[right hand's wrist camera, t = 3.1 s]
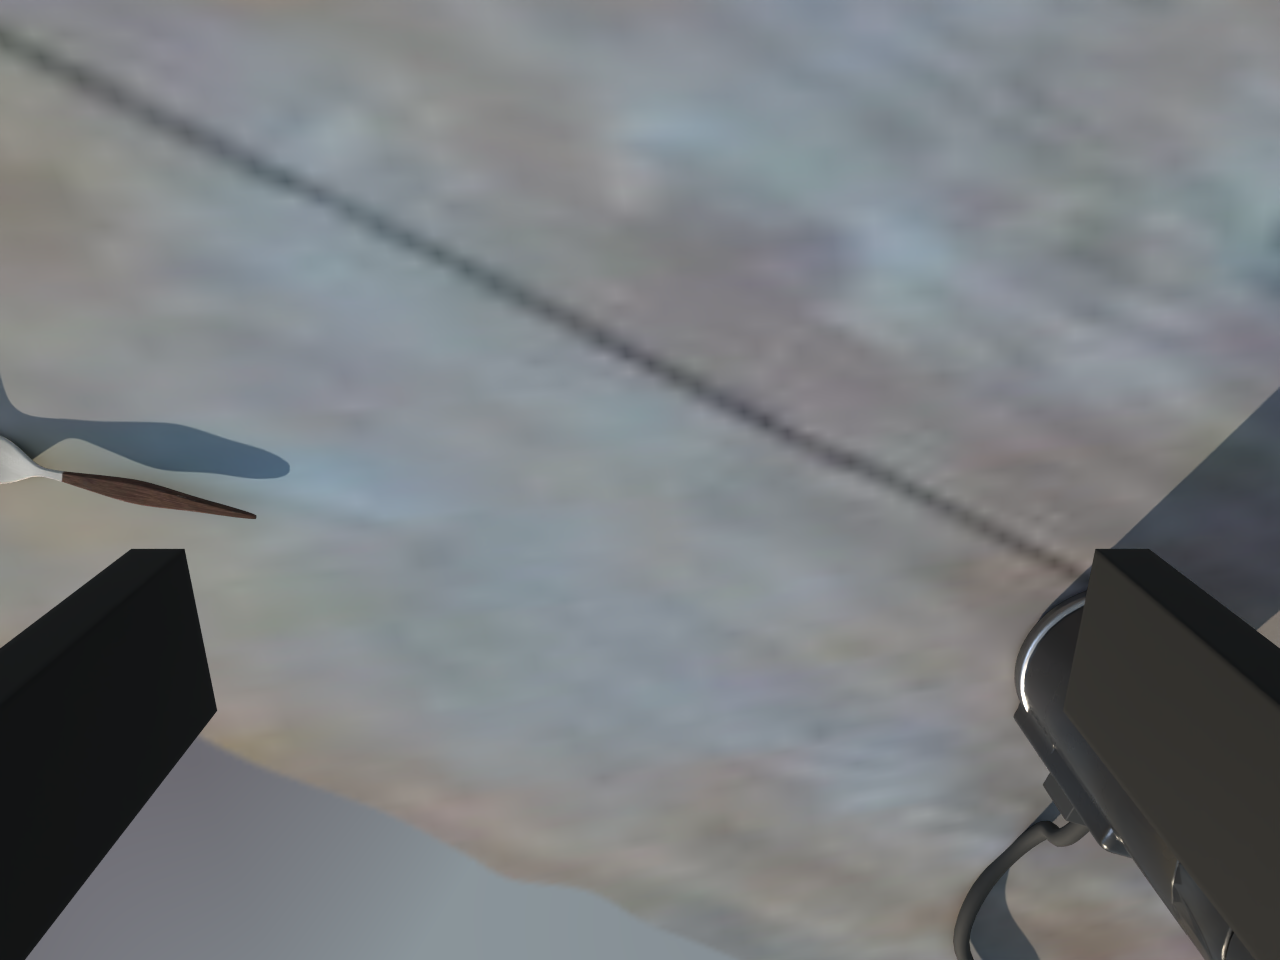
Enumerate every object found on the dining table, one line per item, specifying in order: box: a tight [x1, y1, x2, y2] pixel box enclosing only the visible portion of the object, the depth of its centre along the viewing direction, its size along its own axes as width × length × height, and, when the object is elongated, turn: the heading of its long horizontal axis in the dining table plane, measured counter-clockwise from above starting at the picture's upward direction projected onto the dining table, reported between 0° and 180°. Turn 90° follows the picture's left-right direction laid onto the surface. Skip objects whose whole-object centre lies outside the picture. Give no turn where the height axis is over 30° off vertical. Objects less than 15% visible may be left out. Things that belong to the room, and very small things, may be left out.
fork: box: [0, 436, 256, 519], centre depth 40 cm, size 3×16×2 cm, turn 77°
